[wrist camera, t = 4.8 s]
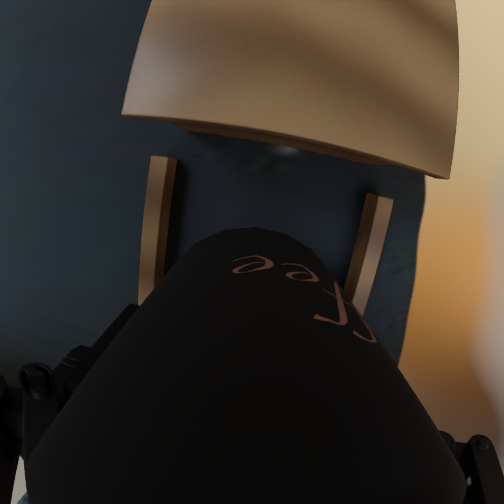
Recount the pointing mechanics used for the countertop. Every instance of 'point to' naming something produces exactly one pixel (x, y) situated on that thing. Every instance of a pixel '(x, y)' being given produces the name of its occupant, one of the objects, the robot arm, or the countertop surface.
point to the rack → (300, 95)
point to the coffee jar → (244, 396)
